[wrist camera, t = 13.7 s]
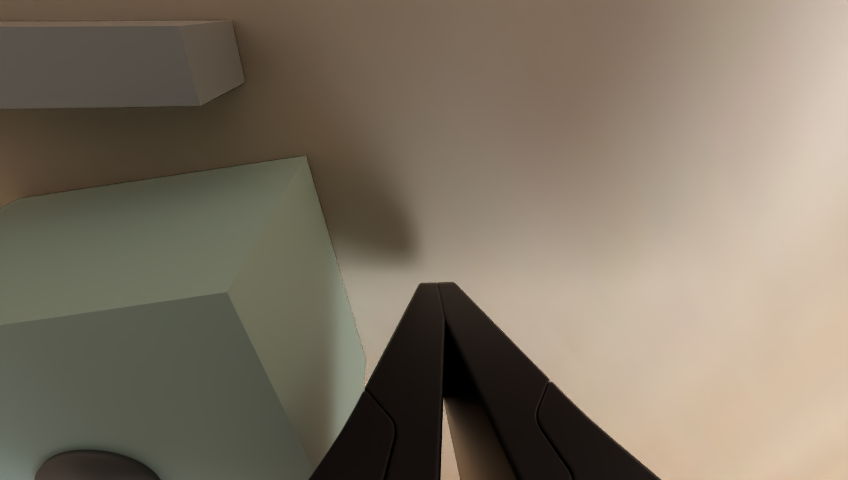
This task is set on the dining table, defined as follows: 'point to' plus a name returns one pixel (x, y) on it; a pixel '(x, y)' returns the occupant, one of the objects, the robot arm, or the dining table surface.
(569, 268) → the dining table surface
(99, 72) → the grey u-shaped bracket
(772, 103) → the dining table surface
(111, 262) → the block
